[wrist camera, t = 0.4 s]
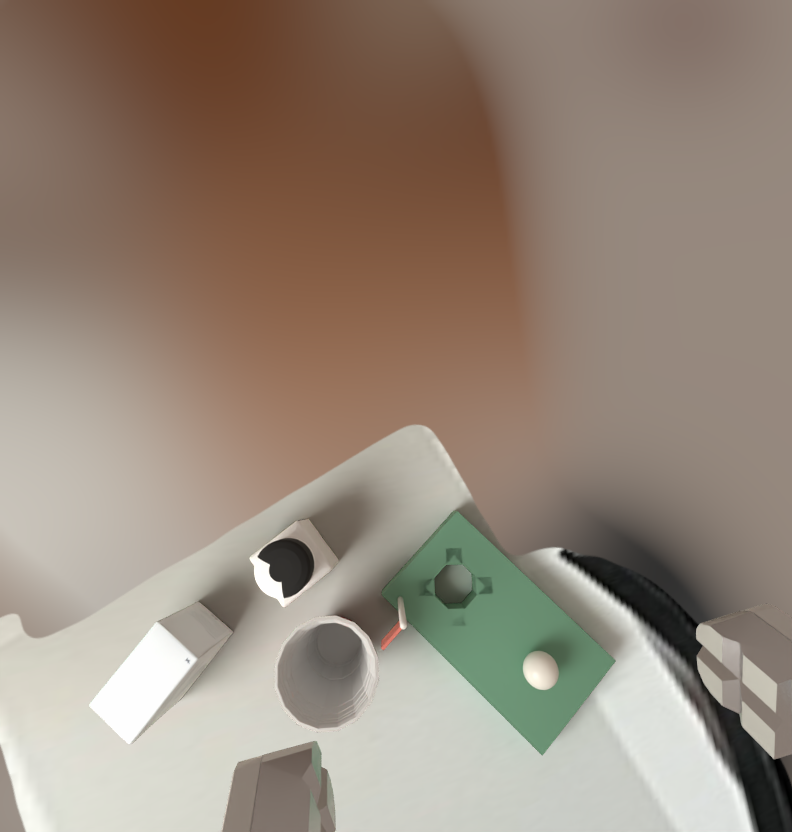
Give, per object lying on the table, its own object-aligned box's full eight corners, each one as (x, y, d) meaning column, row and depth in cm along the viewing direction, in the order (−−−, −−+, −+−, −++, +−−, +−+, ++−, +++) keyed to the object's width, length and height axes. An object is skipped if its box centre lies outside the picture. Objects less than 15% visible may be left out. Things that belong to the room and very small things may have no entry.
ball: (558, 663, 55) (571, 675, 51) (537, 689, 54) (548, 704, 50) (533, 638, 55) (544, 649, 51) (511, 664, 55) (521, 677, 51)
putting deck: (604, 652, 58) (678, 704, 43) (524, 754, 55) (574, 845, 41) (453, 510, 61) (474, 513, 46) (372, 601, 58) (367, 634, 44)
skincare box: (196, 598, 58) (155, 619, 48) (234, 631, 58) (201, 659, 47) (139, 668, 57) (84, 706, 46) (178, 703, 56) (130, 748, 46)
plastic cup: (386, 599, 58) (386, 624, 47) (374, 690, 56) (371, 740, 45) (304, 588, 59) (282, 610, 47) (289, 678, 57) (263, 724, 45)
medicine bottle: (308, 517, 60) (288, 521, 48) (340, 561, 59) (328, 575, 48) (264, 551, 59) (233, 563, 48) (295, 596, 58) (272, 620, 47)
